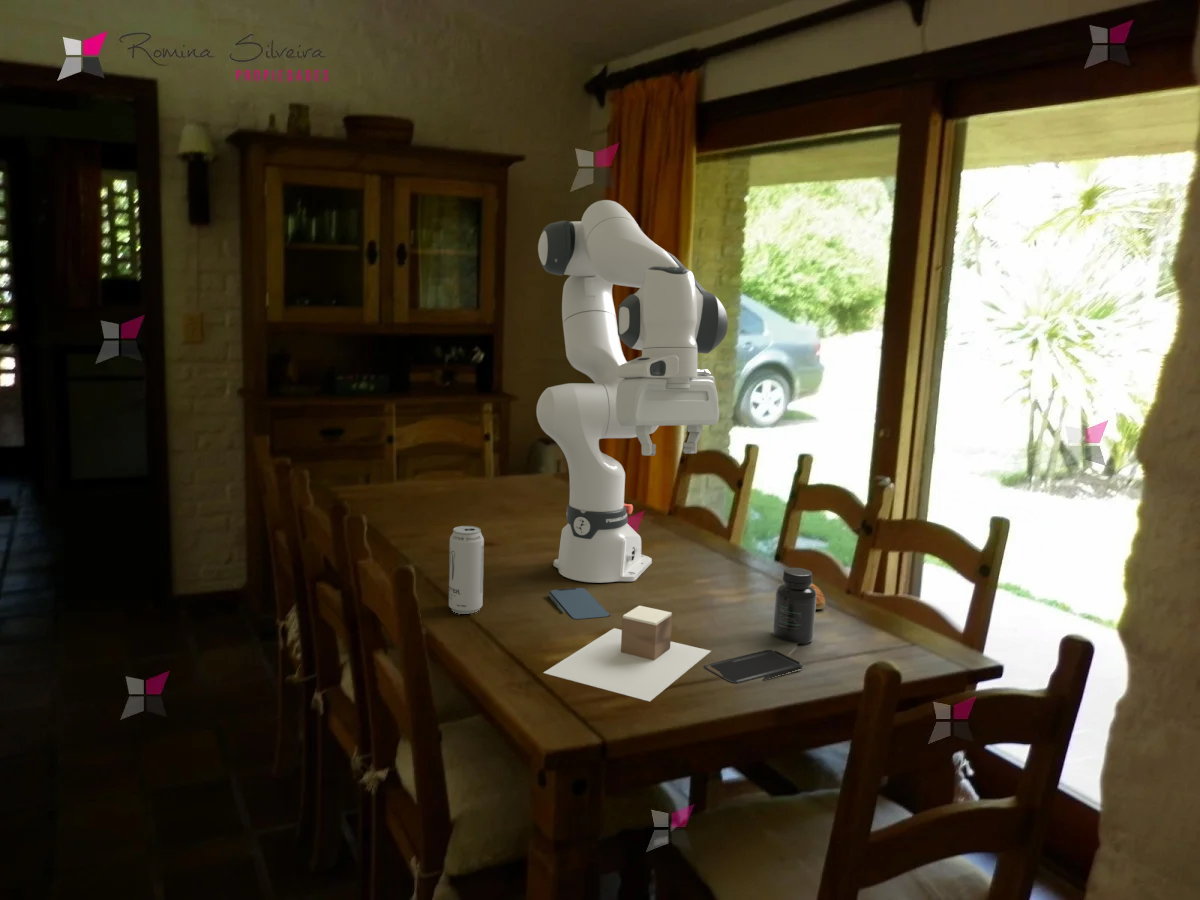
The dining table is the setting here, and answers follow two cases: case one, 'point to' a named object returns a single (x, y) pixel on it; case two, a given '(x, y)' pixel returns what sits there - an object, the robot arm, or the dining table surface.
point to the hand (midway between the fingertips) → (669, 454)
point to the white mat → (626, 667)
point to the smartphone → (578, 603)
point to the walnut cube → (646, 632)
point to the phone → (755, 666)
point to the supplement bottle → (795, 607)
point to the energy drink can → (466, 569)
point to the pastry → (819, 598)
